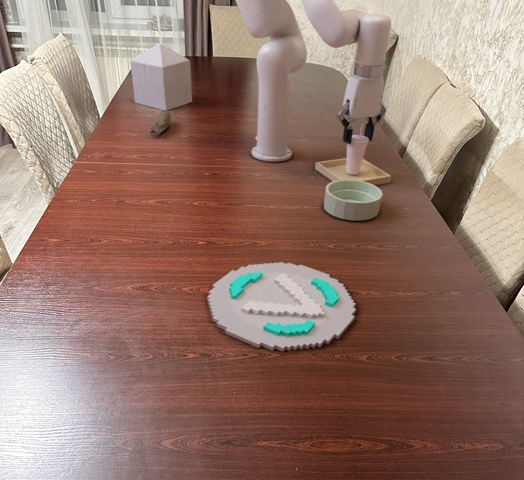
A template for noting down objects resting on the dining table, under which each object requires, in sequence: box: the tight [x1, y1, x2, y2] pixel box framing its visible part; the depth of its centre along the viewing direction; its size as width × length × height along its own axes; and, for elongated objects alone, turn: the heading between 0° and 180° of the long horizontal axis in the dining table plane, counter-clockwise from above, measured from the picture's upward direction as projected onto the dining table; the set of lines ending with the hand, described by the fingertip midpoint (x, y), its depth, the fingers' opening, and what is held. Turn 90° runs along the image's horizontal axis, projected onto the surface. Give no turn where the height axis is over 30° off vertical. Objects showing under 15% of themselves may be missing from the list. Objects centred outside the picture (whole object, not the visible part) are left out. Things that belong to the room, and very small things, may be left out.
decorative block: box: [130, 43, 193, 111], centre depth 196 cm, size 16×16×20 cm
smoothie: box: [346, 121, 370, 174], centre depth 149 cm, size 6×6×14 cm
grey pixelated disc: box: [206, 261, 357, 352], centre depth 101 cm, size 28×28×2 cm
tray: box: [314, 157, 392, 186], centre depth 153 cm, size 17×16×2 cm
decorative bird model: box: [148, 110, 172, 136], centre depth 175 cm, size 5×20×5 cm, turn 175°
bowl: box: [323, 180, 384, 221], centre depth 135 cm, size 14×15×5 cm
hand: (357, 140), depth 147 cm, fingers closed on smoothie, 6 cm apart
